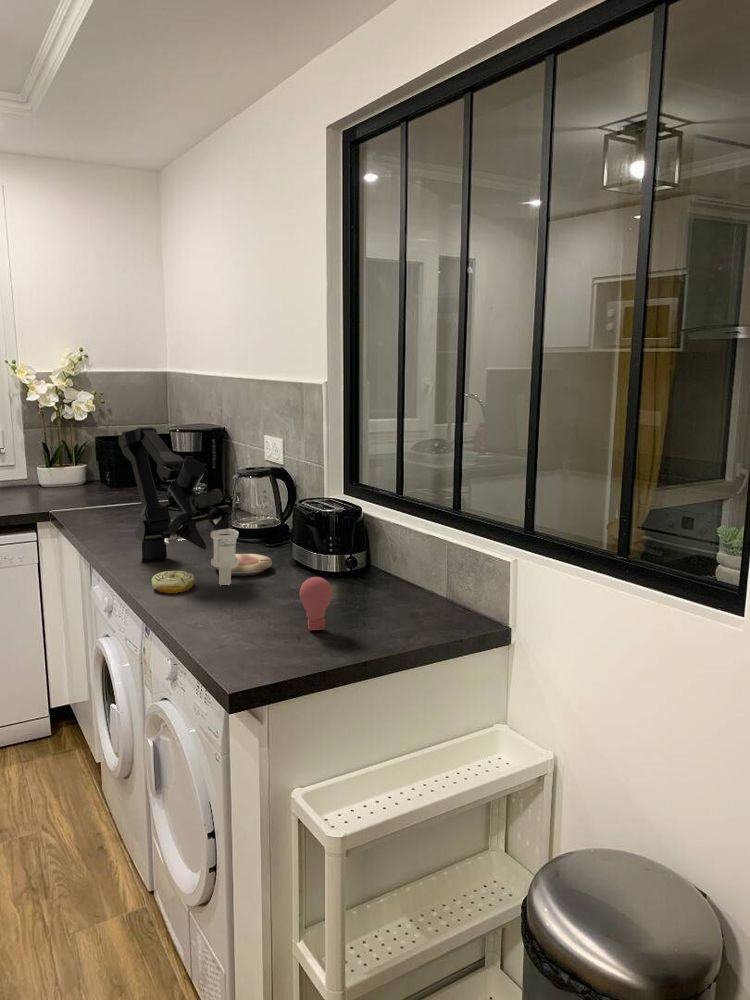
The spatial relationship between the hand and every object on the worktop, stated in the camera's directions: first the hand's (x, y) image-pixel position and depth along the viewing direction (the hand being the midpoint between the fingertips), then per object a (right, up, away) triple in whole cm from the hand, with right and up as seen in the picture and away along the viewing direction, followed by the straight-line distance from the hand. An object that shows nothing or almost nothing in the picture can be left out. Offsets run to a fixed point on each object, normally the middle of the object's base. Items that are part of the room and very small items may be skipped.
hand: (218, 545), depth 195 cm
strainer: (+2, -10, +1) cm, 11 cm away
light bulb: (+28, -17, -31) cm, 45 cm away
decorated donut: (-11, -11, -3) cm, 16 cm away
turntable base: (+4, -8, +14) cm, 17 cm away
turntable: (+4, -6, +14) cm, 16 cm away
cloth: (-25, -1, +51) cm, 57 cm away
